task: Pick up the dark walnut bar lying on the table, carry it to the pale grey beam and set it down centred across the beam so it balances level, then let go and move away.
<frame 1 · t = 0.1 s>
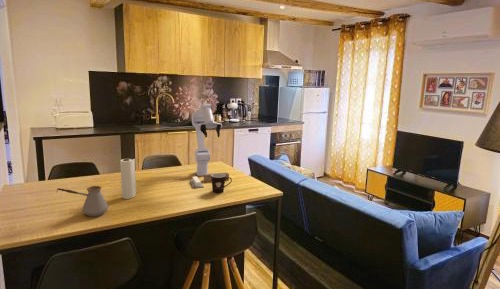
hand: (212, 136, 195), 32 cm above the table, tool tilted 50°, fingers open, 7 cm apart
coffee pot: (84, 215, 156), on the table
ridge: (196, 184, 206), on the table
walnut bar: (216, 180, 216), on the table
coffee mug: (220, 192, 194), on the table
paper towel roll: (128, 197, 181), on the table
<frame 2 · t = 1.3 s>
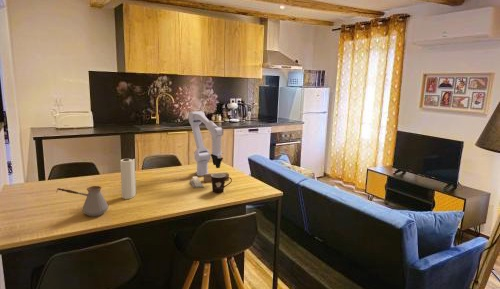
hand: (216, 166, 214), 9 cm above the table, tool pointing down, fingers open, 7 cm apart
nothing on the table moved.
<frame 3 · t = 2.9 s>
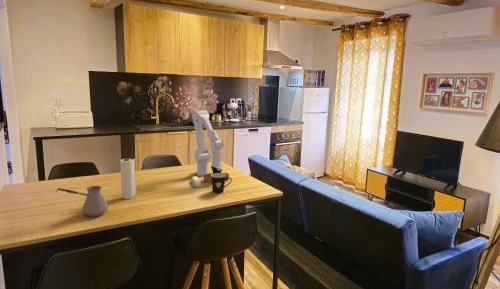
hand: (216, 178, 215), 1 cm above the table, tool pointing down, fingers closed on walnut bar, 4 cm apart
walnut bar: (216, 180, 215), on the table, touching gripper
everything else where it was.
when the fingers open (6 cm above the table, at t = 7.1 s): walnut bar stays where it is, resting on ridge.
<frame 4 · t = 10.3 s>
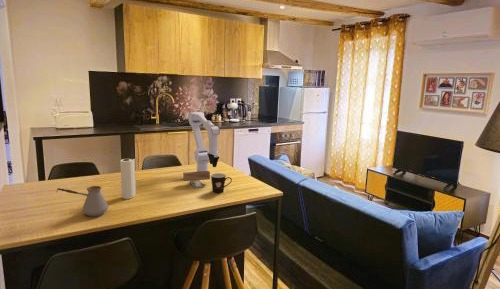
hand: (213, 165, 214), 10 cm above the table, tool pointing down, fingers open, 7 cm apart
walnut bar: (196, 179, 205), point 3 cm above the table, touching ridge
everything else where it was.
at the end: walnut bar 0.1 cm off-centre on the ridge, point 3.2 cm above the ridge's base; walnut bar tilted 0°; walnut bar touching ridge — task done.
